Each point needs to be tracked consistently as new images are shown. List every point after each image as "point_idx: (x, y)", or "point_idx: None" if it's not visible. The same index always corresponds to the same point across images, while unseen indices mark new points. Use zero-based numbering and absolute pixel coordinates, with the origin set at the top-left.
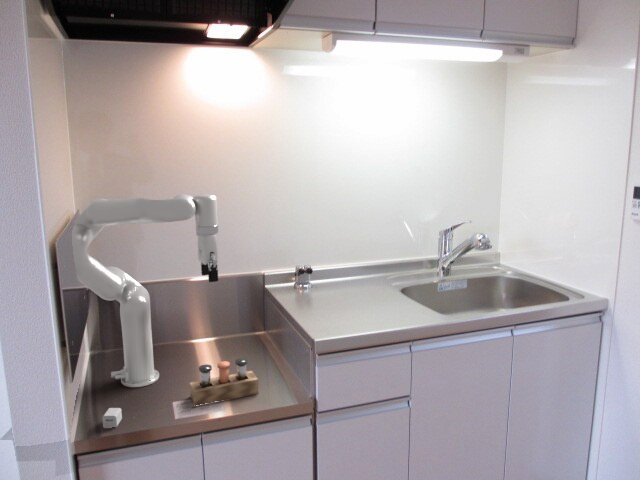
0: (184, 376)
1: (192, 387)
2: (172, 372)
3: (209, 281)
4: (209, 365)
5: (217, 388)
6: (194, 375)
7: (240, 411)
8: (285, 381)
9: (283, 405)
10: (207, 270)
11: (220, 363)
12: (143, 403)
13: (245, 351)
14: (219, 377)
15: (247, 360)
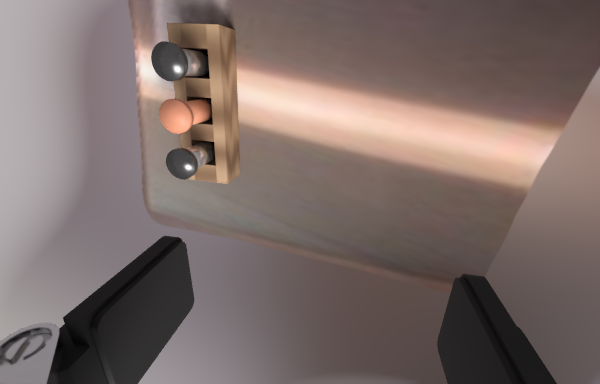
0: (345, 42)
1: (191, 25)
2: (389, 13)
3: (164, 239)
4: (174, 77)
5: (175, 85)
6: (338, 69)
7: (148, 113)
8: (227, 228)
9: (149, 187)
10: (456, 364)
11: (178, 109)
12: None
13: (401, 226)
14: (193, 100)
15: (177, 177)
